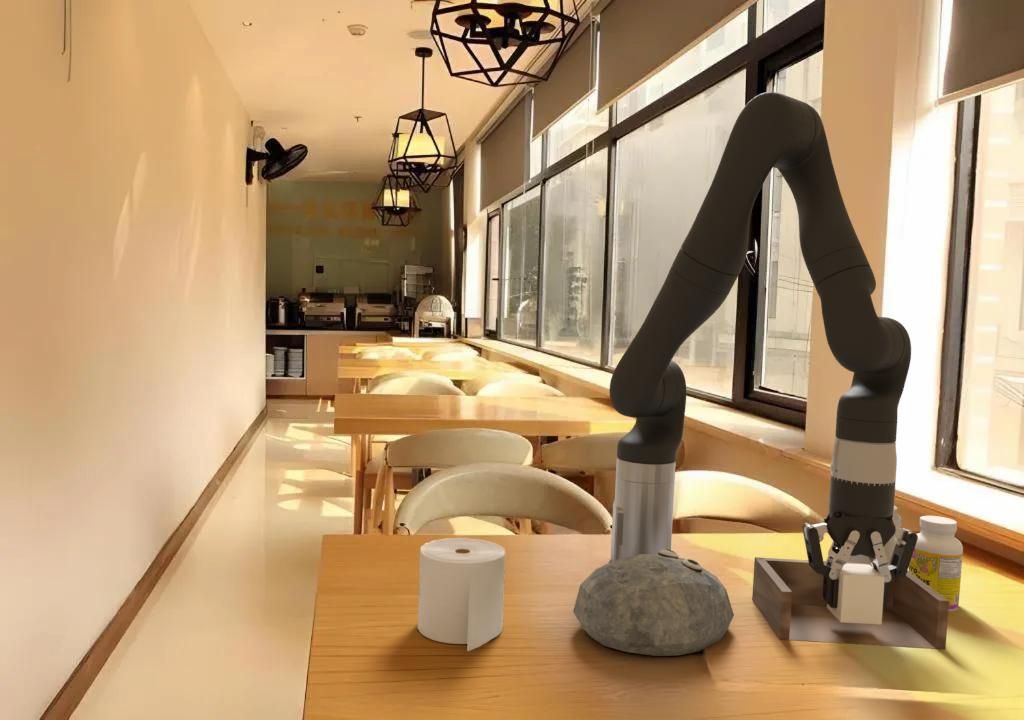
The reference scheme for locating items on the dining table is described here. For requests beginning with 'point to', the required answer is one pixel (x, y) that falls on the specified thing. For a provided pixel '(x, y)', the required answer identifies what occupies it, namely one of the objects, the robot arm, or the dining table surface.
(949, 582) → the supplement bottle
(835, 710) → the dining table surface
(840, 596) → the cream block
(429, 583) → the toilet tissue
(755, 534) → the dining table surface
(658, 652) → the decorative stone
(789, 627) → the walnut box
